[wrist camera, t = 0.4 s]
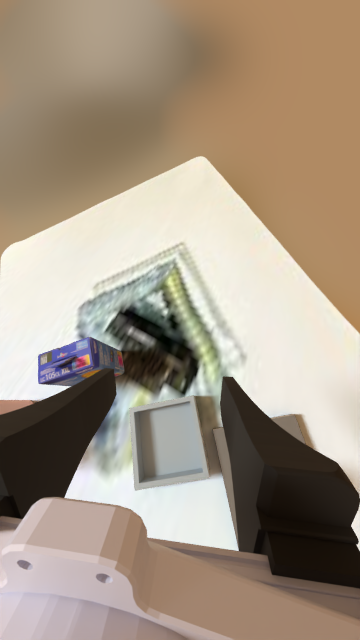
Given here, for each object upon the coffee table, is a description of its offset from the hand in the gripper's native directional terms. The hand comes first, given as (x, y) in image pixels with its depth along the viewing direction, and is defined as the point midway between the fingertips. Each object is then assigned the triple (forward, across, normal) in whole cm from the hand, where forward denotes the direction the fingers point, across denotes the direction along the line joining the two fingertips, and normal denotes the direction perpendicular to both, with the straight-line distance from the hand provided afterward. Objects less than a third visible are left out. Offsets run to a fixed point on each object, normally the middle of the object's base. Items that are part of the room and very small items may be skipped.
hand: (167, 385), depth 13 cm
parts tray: (+17, +2, +23) cm, 29 cm away
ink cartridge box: (+25, +18, +16) cm, 35 cm away
